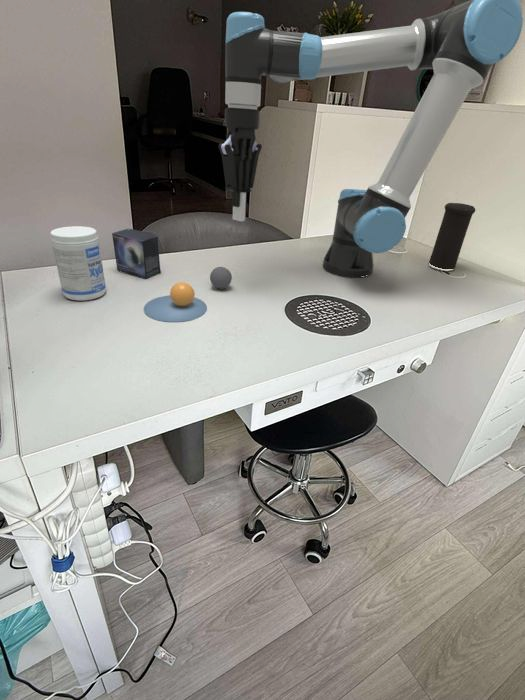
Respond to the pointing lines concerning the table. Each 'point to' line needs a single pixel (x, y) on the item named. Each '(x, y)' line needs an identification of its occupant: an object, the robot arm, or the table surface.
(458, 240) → the container
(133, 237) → the small box
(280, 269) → the table surface
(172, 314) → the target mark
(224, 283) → the charcoal ball
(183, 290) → the orange ball
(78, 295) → the supplement tub
